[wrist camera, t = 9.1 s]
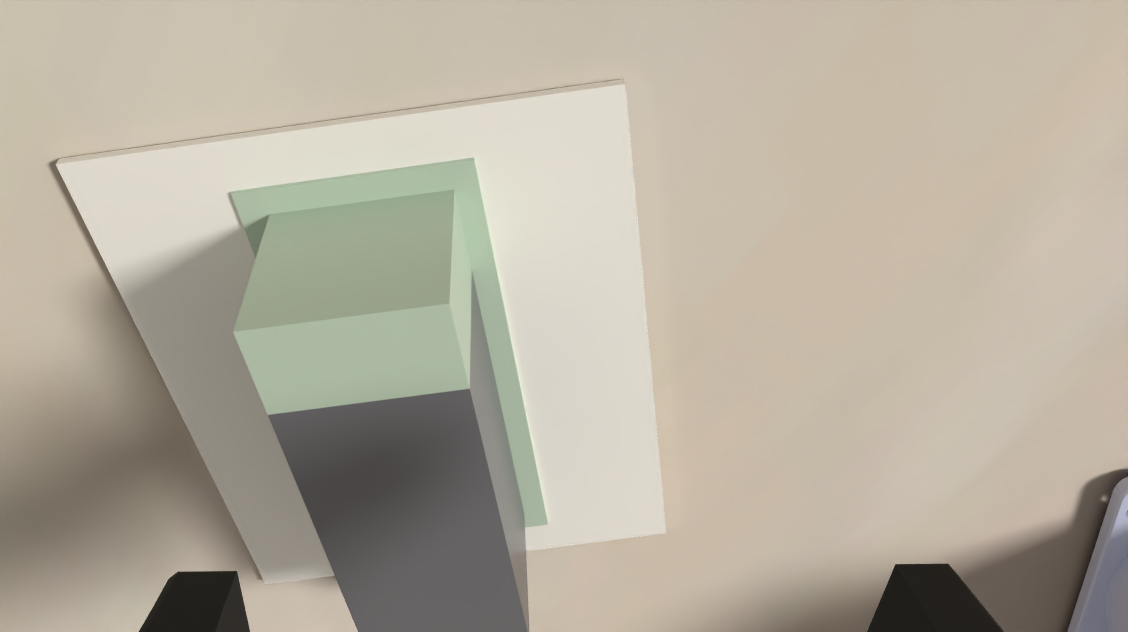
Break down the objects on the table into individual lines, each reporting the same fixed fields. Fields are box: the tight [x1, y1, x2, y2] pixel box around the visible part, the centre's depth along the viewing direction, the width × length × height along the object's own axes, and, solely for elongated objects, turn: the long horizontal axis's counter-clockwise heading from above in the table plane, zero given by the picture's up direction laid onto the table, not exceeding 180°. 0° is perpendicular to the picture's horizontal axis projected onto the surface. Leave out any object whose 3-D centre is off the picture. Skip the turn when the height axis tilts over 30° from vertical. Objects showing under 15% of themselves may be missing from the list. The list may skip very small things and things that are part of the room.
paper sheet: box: [56, 79, 666, 585], centre depth 21 cm, size 12×10×1 cm
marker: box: [233, 190, 529, 632], centre depth 20 cm, size 10×3×3 cm, turn 7°
